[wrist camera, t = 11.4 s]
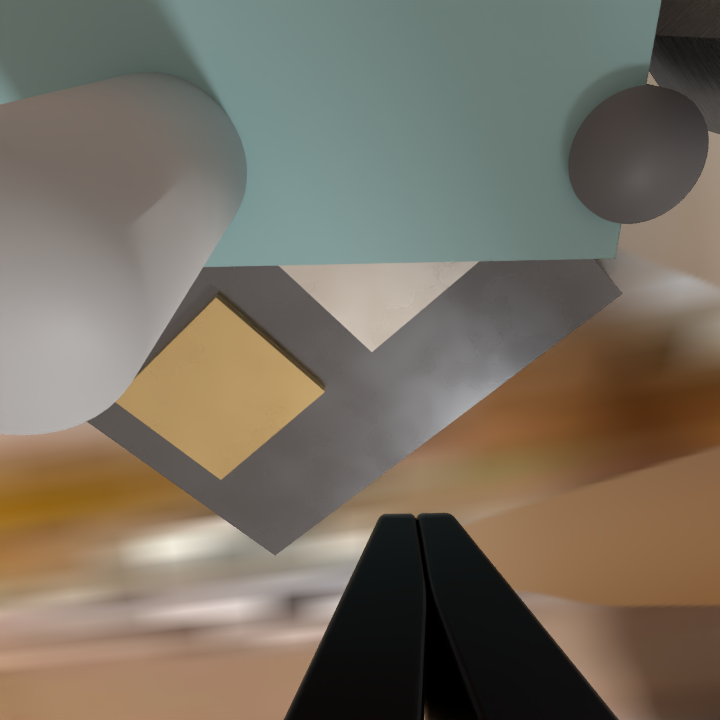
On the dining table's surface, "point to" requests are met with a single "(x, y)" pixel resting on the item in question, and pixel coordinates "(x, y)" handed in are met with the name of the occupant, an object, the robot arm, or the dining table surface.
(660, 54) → the panel
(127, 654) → the dining table surface
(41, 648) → the dining table surface
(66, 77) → the teal plank with post
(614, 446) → the dining table surface
